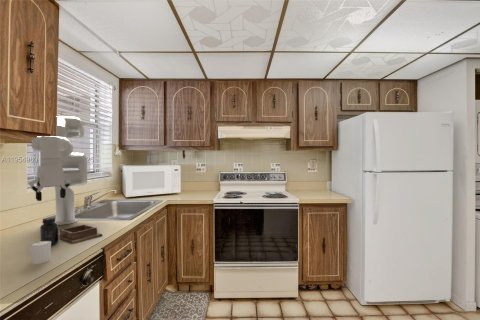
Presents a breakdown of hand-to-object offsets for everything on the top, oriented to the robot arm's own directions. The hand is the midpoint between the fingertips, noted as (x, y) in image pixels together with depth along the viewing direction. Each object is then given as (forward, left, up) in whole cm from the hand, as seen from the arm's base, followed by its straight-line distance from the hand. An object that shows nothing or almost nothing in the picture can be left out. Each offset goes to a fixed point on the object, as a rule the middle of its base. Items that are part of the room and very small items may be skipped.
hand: (51, 199), depth 124 cm
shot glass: (+19, -12, -21) cm, 31 cm away
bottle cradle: (-1, +12, -21) cm, 24 cm away
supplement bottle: (-1, -1, -21) cm, 21 cm away
